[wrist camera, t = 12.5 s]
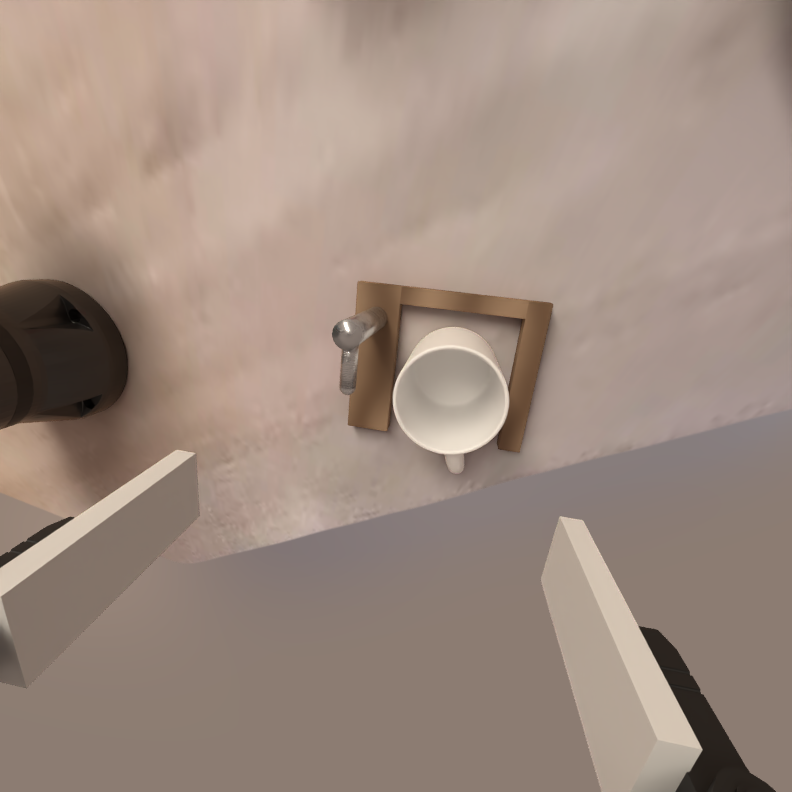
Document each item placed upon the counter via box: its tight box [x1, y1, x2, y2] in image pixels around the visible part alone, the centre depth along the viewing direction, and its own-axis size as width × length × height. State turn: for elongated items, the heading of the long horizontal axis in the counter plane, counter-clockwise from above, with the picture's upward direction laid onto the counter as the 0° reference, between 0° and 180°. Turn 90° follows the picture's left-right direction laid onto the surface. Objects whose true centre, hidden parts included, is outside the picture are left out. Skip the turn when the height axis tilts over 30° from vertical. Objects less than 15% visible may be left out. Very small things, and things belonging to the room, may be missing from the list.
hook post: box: [332, 307, 387, 395], centre depth 31 cm, size 2×6×10 cm, turn 174°
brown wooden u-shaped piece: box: [348, 281, 553, 452], centre depth 37 cm, size 17×14×2 cm
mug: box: [393, 327, 509, 474], centre depth 33 cm, size 12×8×10 cm
